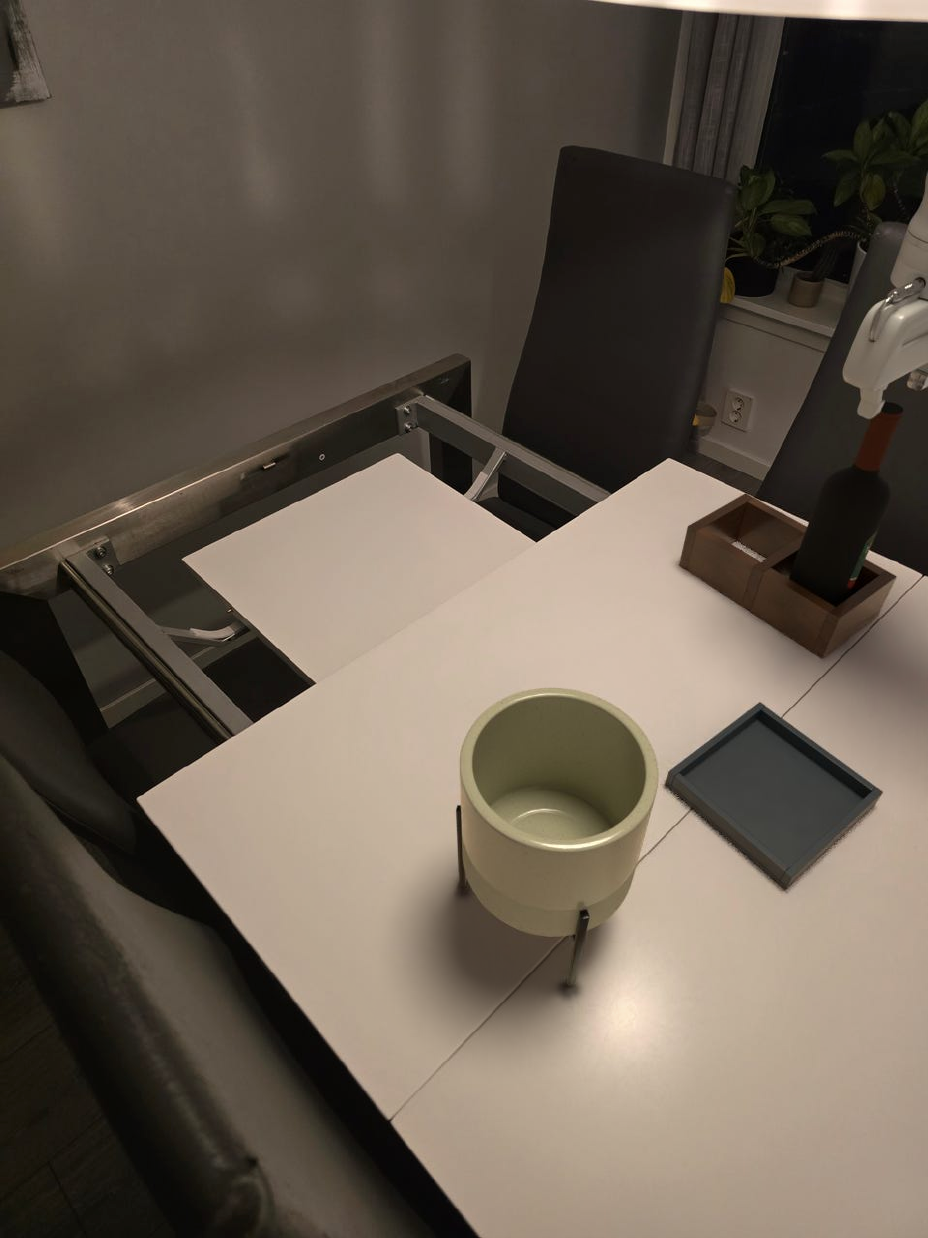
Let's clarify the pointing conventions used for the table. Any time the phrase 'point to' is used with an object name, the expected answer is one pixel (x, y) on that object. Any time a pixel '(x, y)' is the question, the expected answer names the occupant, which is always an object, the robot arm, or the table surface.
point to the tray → (773, 792)
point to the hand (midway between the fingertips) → (892, 400)
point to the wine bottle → (847, 516)
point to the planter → (553, 811)
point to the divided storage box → (777, 574)
